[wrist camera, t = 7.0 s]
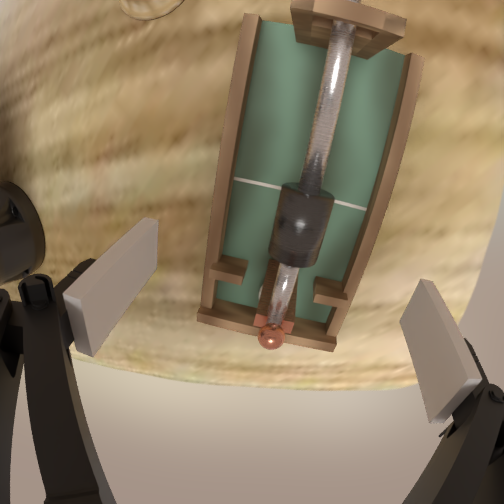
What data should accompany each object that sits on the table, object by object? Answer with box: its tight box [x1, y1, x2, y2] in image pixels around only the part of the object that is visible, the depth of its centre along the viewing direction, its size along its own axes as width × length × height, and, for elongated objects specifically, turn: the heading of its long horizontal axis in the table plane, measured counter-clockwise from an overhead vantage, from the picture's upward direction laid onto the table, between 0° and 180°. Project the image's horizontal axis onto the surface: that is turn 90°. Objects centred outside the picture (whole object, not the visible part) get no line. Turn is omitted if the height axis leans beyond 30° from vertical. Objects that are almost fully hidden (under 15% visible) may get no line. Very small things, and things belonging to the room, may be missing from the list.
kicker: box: [253, 0, 361, 350], centre depth 21 cm, size 3×27×11 cm, turn 170°
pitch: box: [197, 0, 425, 352], centre depth 24 cm, size 15×30×12 cm, turn 170°
